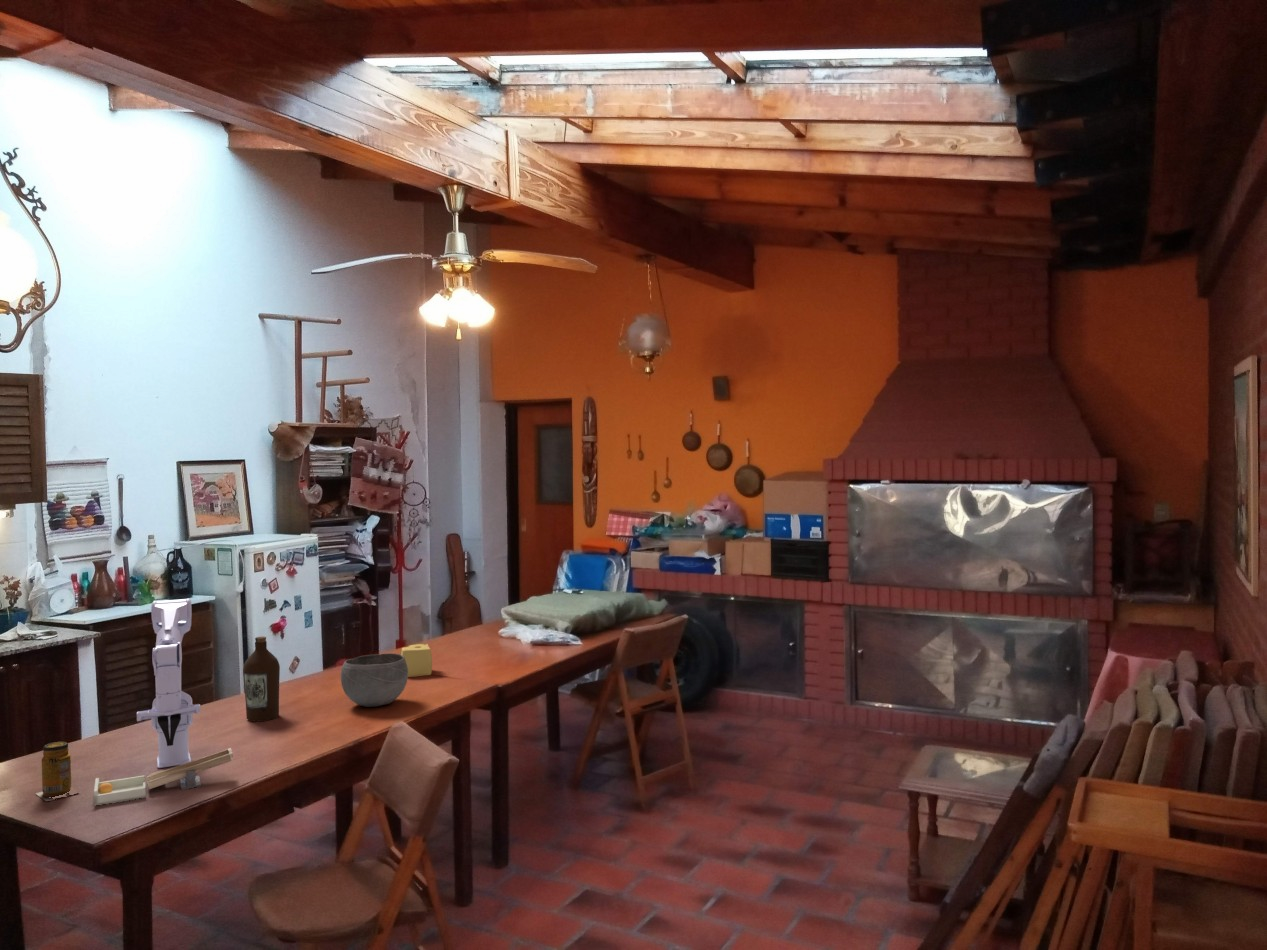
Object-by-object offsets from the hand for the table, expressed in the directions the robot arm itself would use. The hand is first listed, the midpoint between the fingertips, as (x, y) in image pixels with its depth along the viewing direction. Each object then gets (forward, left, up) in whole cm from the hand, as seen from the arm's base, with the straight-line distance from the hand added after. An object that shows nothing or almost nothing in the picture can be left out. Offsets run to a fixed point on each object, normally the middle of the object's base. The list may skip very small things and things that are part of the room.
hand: (170, 744), depth 244 cm
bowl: (-44, +61, -9) cm, 76 cm away
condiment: (-1, -25, -9) cm, 26 cm away
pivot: (+8, +4, -8) cm, 12 cm away
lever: (+5, +5, -6) cm, 9 cm away
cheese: (-80, +84, -9) cm, 117 cm away
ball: (+8, -14, -6) cm, 18 cm away
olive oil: (-47, +27, -9) cm, 55 cm away
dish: (+8, -11, -8) cm, 16 cm away
